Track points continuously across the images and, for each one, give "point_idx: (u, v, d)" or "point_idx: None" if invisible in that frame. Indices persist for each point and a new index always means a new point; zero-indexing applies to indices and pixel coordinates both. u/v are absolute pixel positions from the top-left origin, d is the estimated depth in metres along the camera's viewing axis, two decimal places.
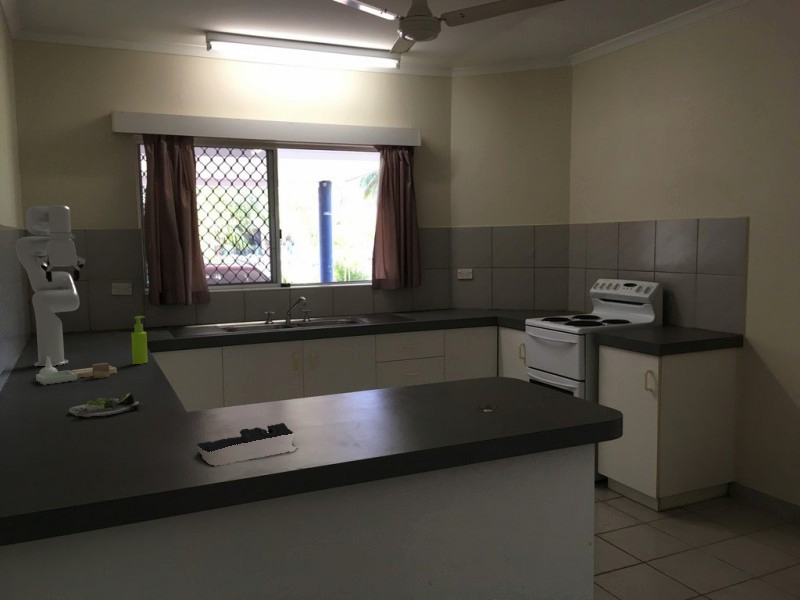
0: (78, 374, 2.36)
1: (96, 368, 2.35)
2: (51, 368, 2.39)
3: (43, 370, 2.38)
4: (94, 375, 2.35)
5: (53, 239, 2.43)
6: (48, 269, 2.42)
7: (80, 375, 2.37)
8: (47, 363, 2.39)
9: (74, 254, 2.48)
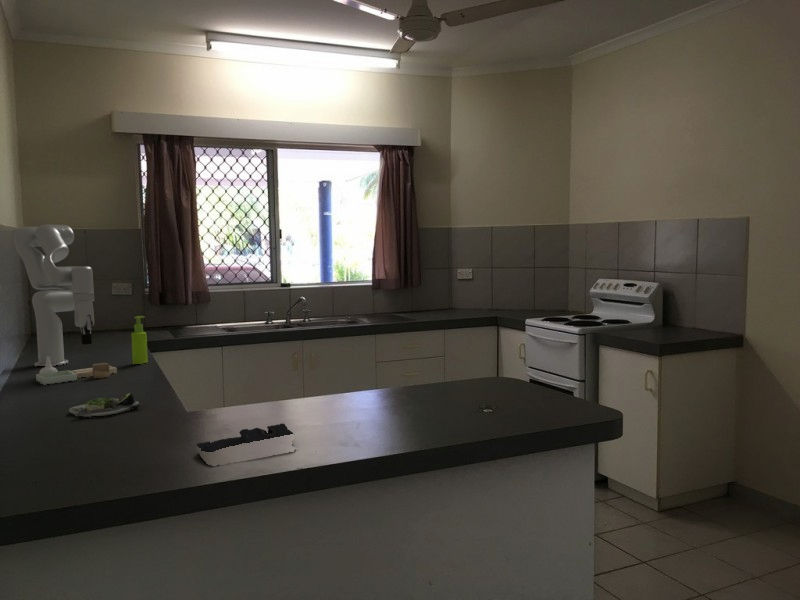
0: (78, 374, 2.36)
1: (96, 368, 2.35)
2: (51, 368, 2.39)
3: (43, 370, 2.38)
4: (94, 375, 2.35)
5: (91, 299, 2.47)
6: None
7: (80, 375, 2.37)
8: (47, 363, 2.39)
9: None
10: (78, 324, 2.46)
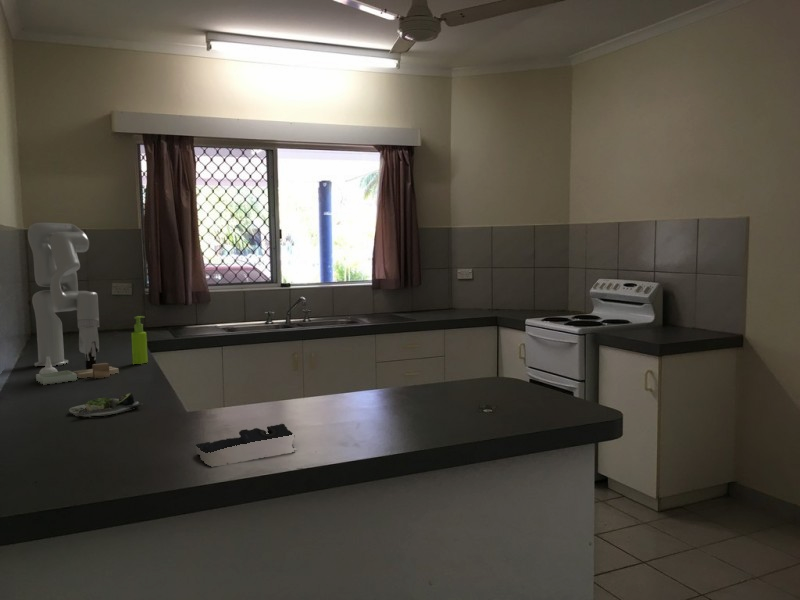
0: (81, 375, 2.35)
1: (96, 368, 2.35)
2: (51, 368, 2.39)
3: (43, 370, 2.38)
4: (94, 375, 2.35)
5: (96, 326, 2.44)
6: None
7: (83, 376, 2.36)
8: (47, 363, 2.39)
9: None
10: (83, 350, 2.43)
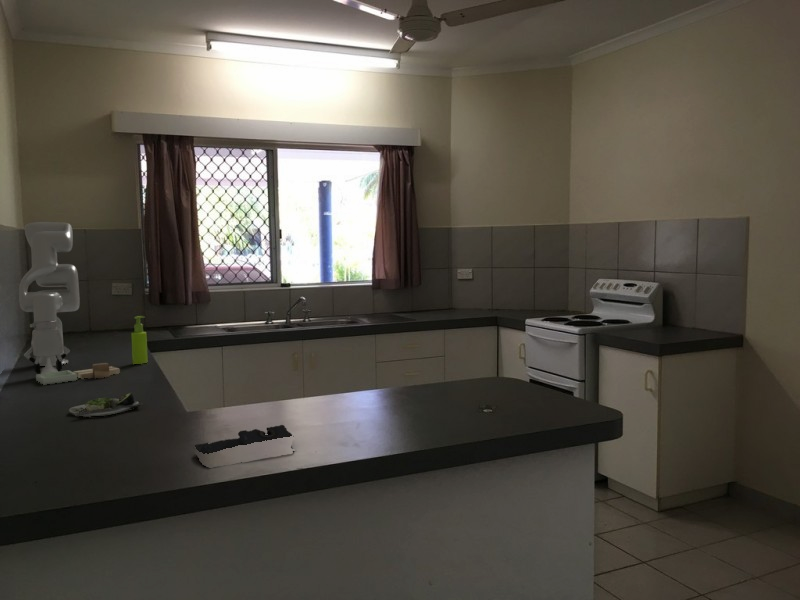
0: (82, 375, 2.34)
1: (96, 368, 2.35)
2: (51, 367, 2.39)
3: (43, 370, 2.38)
4: (94, 375, 2.35)
5: None
6: None
7: (84, 376, 2.35)
8: (47, 363, 2.39)
9: None
10: (52, 353, 2.38)
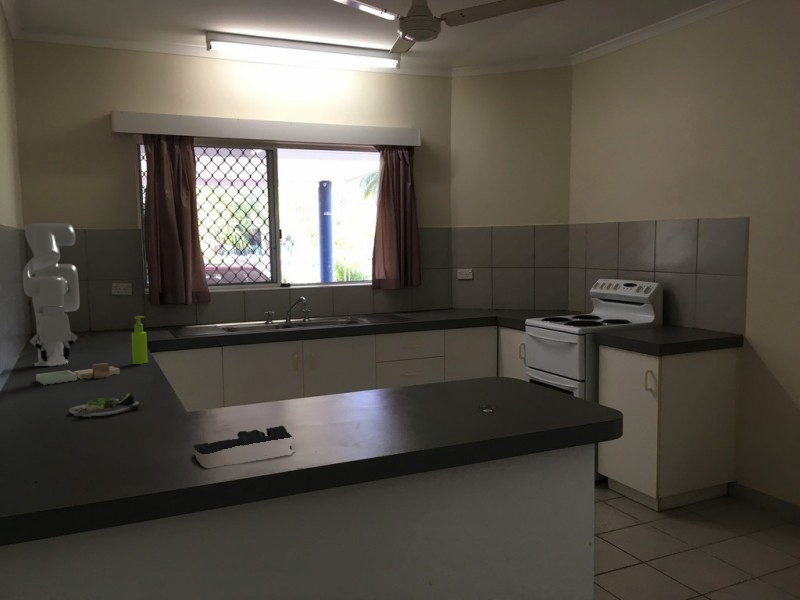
0: (81, 375, 2.34)
1: (96, 368, 2.35)
2: (58, 354, 2.30)
3: (50, 357, 2.28)
4: (94, 375, 2.35)
5: None
6: None
7: (83, 376, 2.35)
8: (54, 349, 2.30)
9: None
10: (59, 339, 2.29)
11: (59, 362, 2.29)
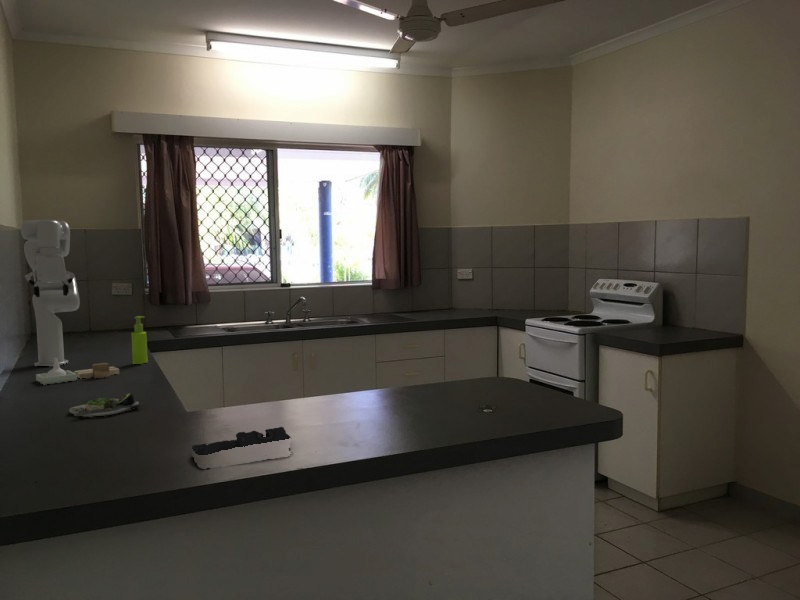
0: (80, 375, 2.34)
1: (96, 368, 2.35)
2: (59, 370, 2.31)
3: (51, 372, 2.29)
4: (94, 375, 2.35)
5: None
6: None
7: (82, 376, 2.35)
8: (55, 365, 2.31)
9: None
10: (55, 278, 2.43)
11: None
